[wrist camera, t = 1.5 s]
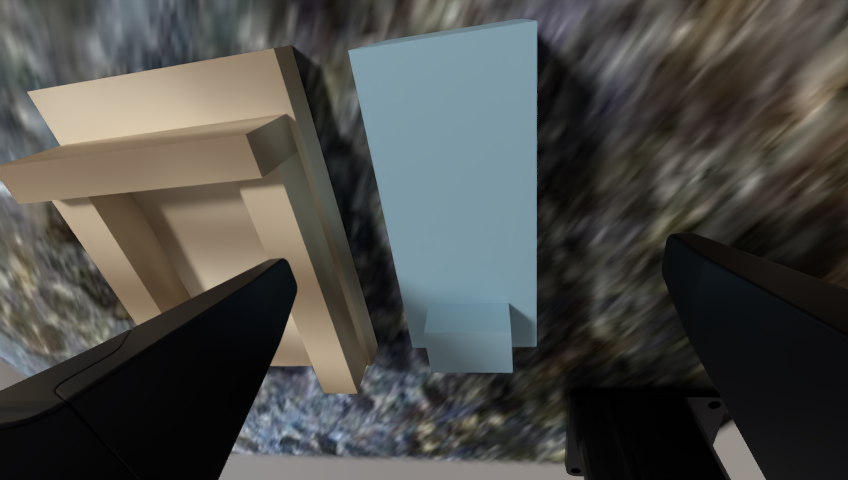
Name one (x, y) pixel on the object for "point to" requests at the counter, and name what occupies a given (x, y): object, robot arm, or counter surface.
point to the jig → (205, 196)
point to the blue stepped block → (458, 185)
